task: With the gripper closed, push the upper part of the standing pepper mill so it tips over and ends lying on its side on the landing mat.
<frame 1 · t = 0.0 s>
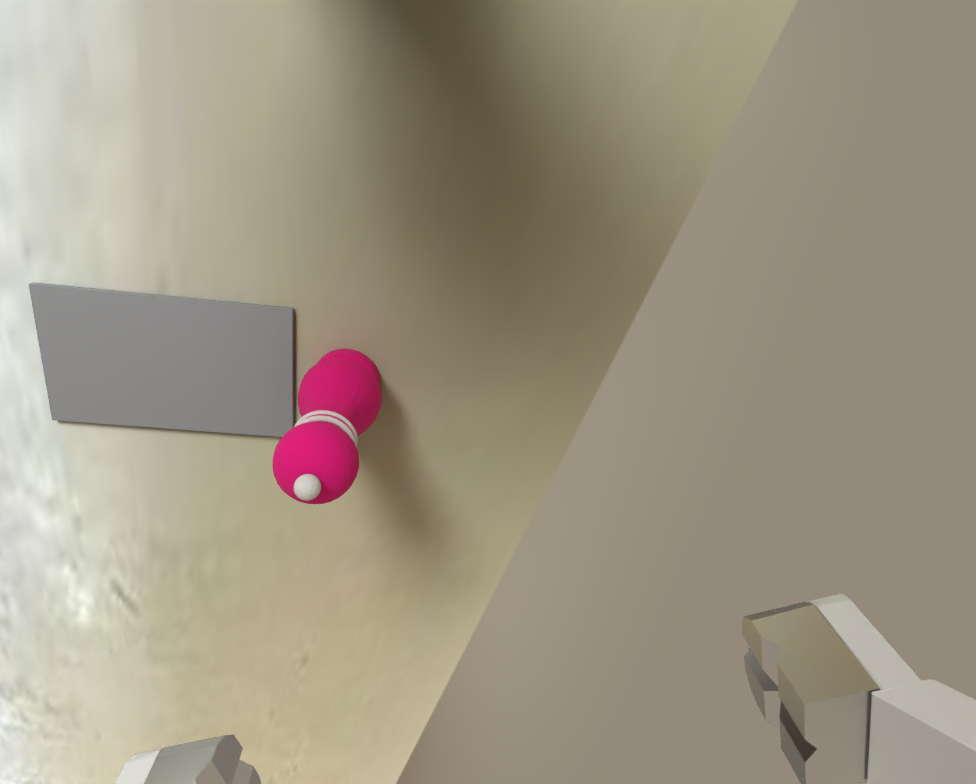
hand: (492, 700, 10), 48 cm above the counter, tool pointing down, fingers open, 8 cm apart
landing mat: (172, 363, 56), on the counter
pepper mill: (347, 378, 59), on the counter
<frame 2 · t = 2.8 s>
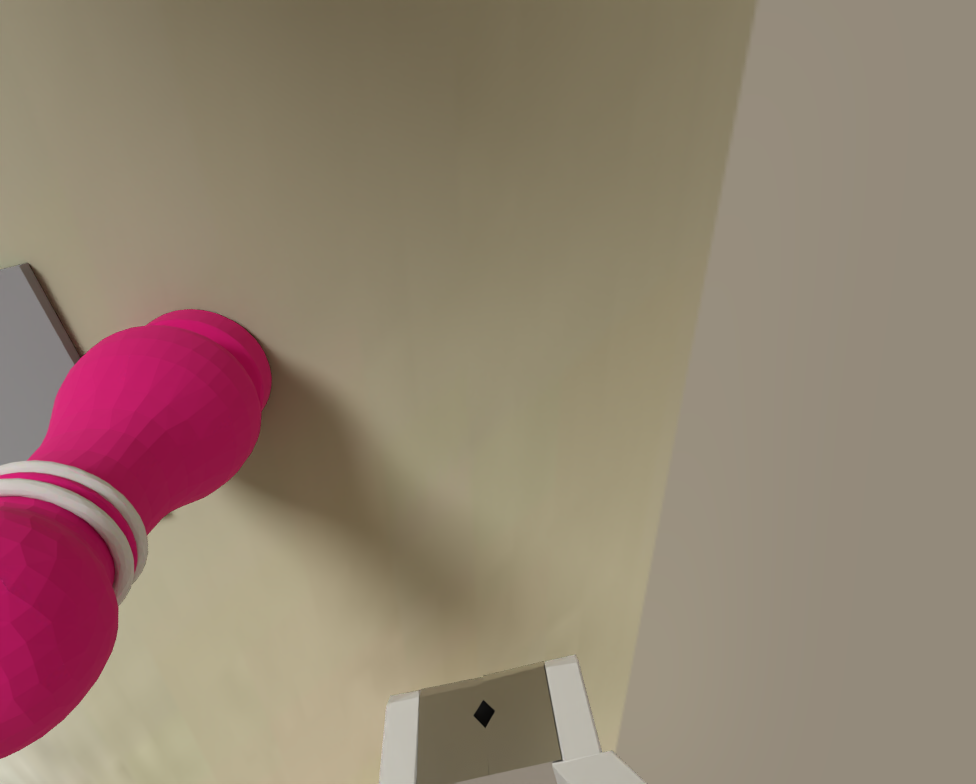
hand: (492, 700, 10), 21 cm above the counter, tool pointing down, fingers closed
pepper mill: (205, 370, 29), on the counter
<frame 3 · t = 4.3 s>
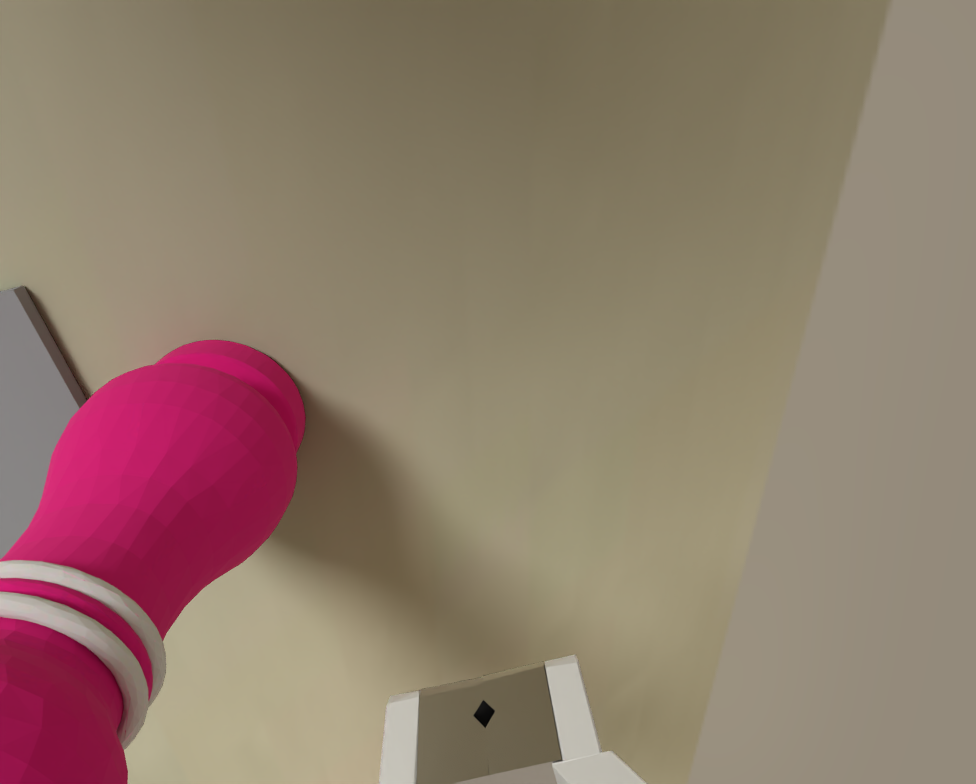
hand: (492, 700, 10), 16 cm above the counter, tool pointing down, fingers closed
pepper mill: (228, 409, 25), on the counter
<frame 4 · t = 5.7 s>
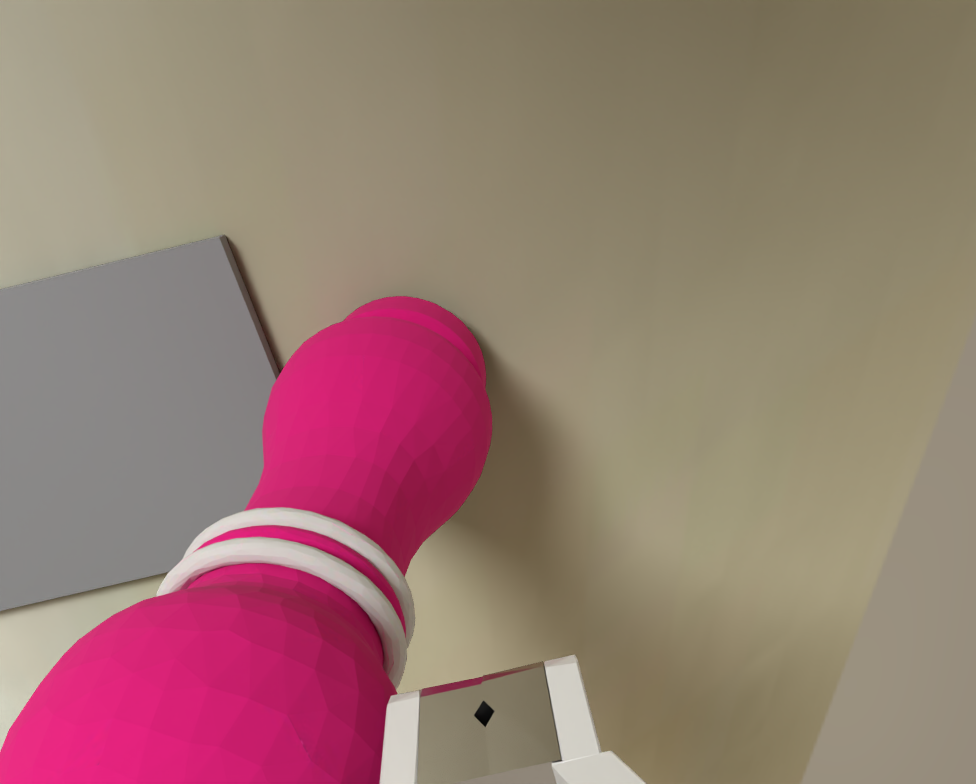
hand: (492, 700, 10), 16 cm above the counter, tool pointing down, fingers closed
landing mat: (26, 457, 25), on the counter
pepper mill: (408, 369, 24), on the counter, touching gripper
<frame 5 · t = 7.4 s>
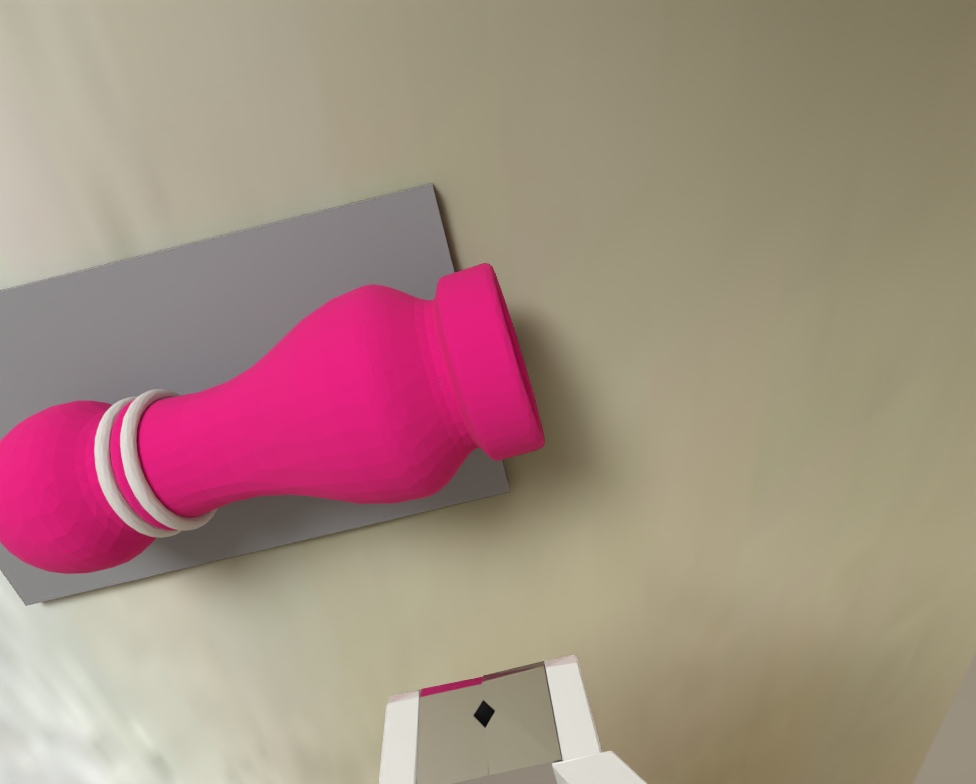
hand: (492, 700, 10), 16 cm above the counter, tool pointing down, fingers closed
landing mat: (209, 413, 25), on the counter
pepper mill: (525, 352, 20), point 4 cm above the counter, touching landing mat
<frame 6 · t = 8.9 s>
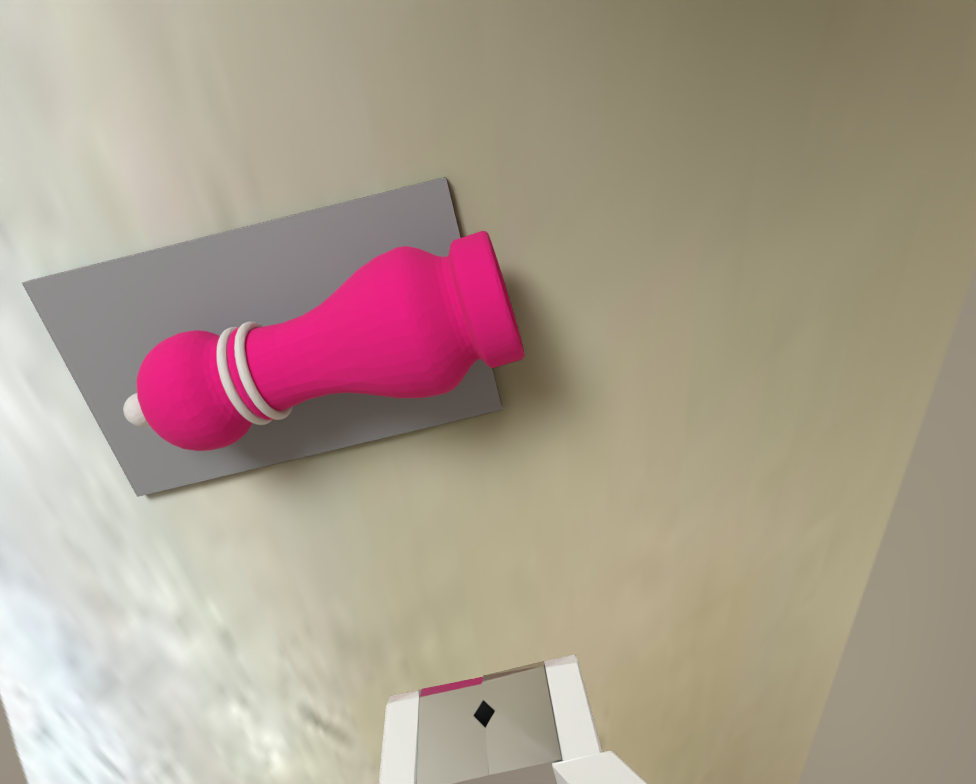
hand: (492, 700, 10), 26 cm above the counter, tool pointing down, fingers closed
landing mat: (281, 347, 33), on the counter
pepper mill: (510, 293, 29), point 4 cm above the counter, touching landing mat
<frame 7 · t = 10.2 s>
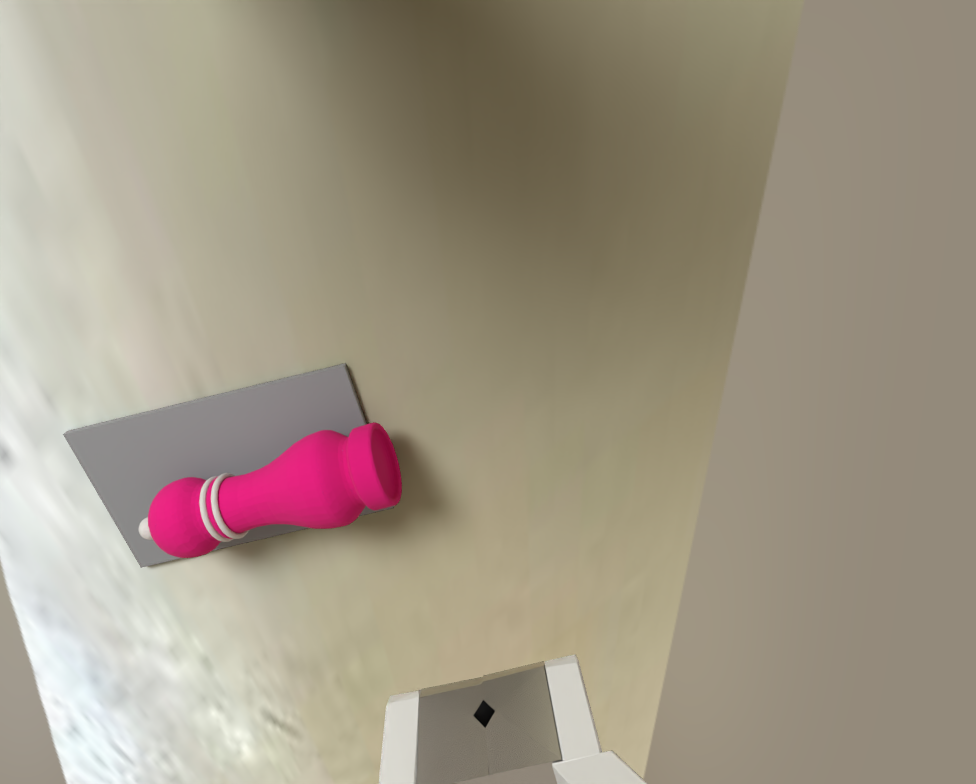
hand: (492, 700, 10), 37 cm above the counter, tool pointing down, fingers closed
landing mat: (238, 469, 49), on the counter
pepper mill: (389, 462, 45), point 4 cm above the counter, touching landing mat
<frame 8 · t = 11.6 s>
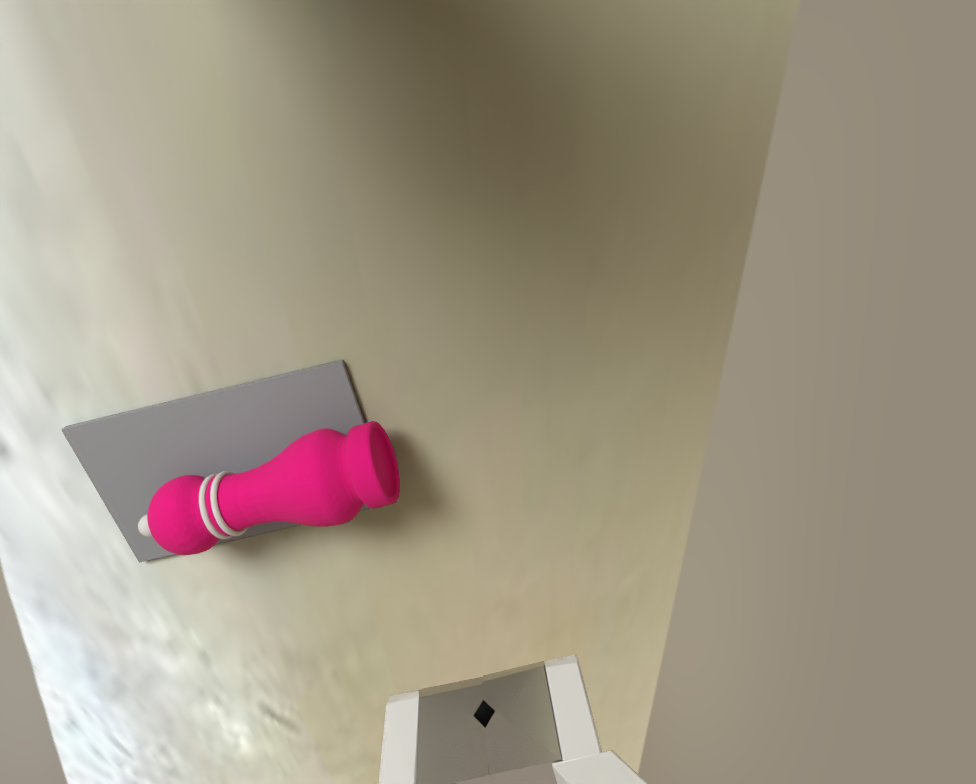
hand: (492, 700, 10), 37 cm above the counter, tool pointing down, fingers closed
landing mat: (236, 464, 49), on the counter
pepper mill: (388, 460, 45), point 4 cm above the counter, touching landing mat
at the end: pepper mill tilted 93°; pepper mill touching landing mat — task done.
